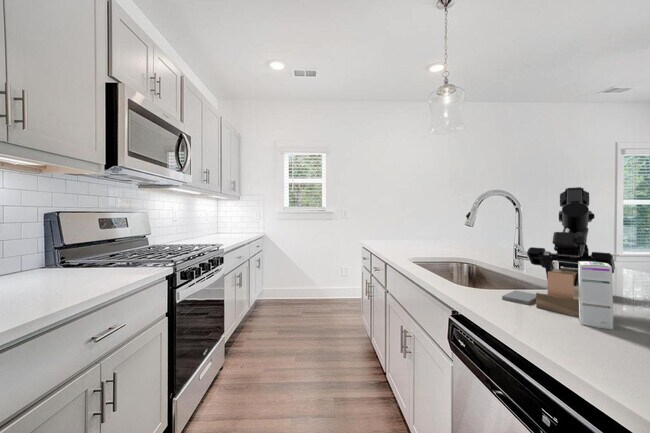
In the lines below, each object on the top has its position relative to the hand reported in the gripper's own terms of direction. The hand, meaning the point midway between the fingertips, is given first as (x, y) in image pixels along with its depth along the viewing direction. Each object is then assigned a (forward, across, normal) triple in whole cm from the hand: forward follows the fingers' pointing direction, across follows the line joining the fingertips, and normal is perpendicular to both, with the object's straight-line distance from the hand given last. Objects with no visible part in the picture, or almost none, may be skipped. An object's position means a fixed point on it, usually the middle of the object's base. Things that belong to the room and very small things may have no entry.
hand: (561, 283), depth 81 cm
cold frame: (+4, 0, +6) cm, 7 cm away
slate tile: (+3, -10, +7) cm, 13 cm away
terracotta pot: (+4, 0, +6) cm, 7 cm away
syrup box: (+10, +8, 0) cm, 13 cm away
